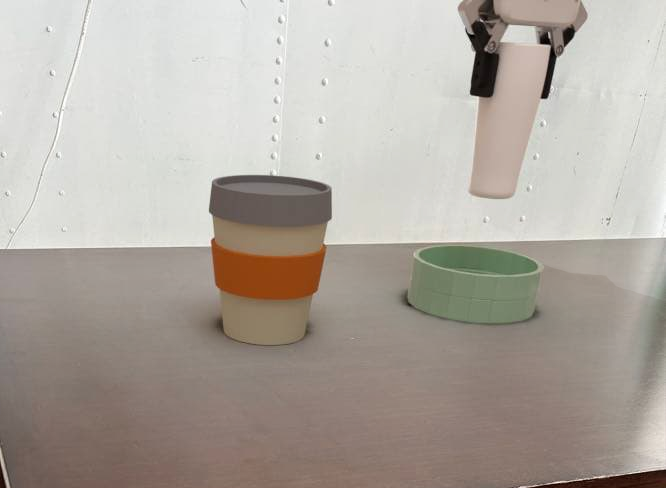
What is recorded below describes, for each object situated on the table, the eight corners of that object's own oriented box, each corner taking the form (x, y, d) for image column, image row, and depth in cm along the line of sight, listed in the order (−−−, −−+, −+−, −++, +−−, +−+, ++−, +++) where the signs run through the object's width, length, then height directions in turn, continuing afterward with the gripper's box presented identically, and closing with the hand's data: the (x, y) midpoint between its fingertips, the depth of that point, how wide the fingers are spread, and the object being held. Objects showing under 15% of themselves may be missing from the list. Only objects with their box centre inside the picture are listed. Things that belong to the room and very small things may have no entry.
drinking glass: (494, 203, 90) (524, 43, 82) (448, 192, 94) (472, 40, 86) (533, 199, 93) (565, 45, 85) (487, 189, 98) (513, 42, 90)
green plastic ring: (520, 297, 107) (530, 249, 104) (542, 333, 94) (555, 280, 91) (404, 288, 108) (410, 241, 104) (410, 323, 95) (418, 270, 92)
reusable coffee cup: (246, 358, 82) (253, 199, 74) (186, 322, 91) (186, 177, 83) (344, 340, 88) (360, 192, 80) (278, 309, 97) (287, 172, 89)
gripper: (500, -128, 73) (464, 99, 82) (643, -106, 79) (594, 102, 89) (451, -119, 78) (422, 92, 88) (588, -99, 85) (547, 96, 94)
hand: (509, 95), depth 88 cm, fingers closed on drinking glass, 6 cm apart
